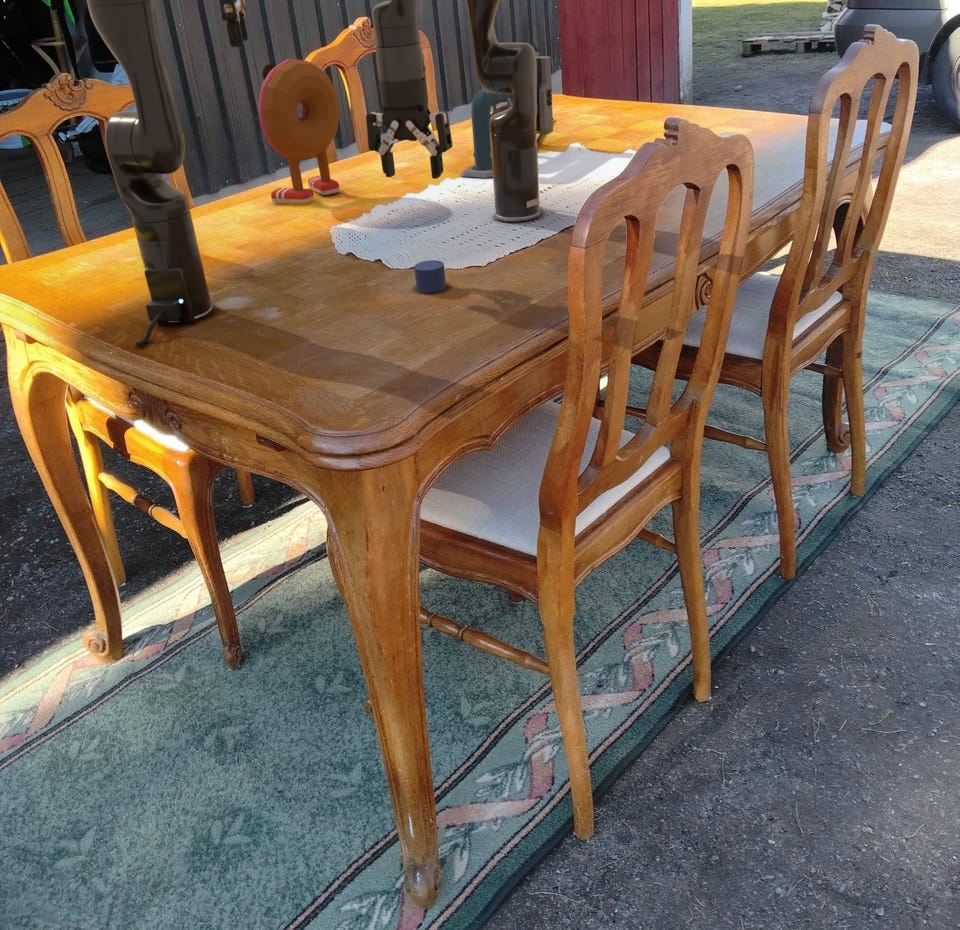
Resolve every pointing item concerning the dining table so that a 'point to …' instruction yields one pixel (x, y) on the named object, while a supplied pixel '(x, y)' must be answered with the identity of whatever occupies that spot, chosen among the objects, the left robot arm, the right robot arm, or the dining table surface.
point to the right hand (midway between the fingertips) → (413, 176)
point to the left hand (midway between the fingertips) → (239, 43)
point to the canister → (430, 276)
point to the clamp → (487, 100)
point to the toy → (299, 124)
